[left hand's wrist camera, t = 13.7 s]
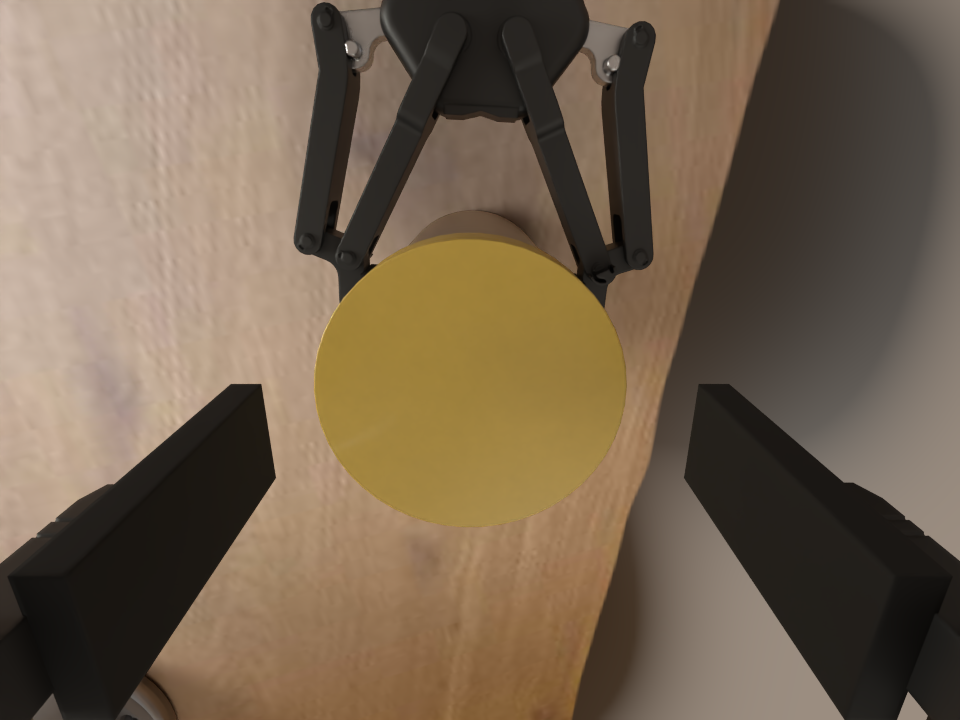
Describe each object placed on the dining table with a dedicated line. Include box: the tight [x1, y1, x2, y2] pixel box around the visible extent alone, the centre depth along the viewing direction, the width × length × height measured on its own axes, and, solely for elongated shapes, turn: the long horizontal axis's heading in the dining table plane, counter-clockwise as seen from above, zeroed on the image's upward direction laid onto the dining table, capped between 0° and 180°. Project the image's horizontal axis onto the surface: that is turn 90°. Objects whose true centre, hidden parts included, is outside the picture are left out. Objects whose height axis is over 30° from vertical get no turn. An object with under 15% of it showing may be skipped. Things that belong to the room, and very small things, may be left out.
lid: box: [314, 233, 627, 527], centre depth 17 cm, size 10×10×2 cm
